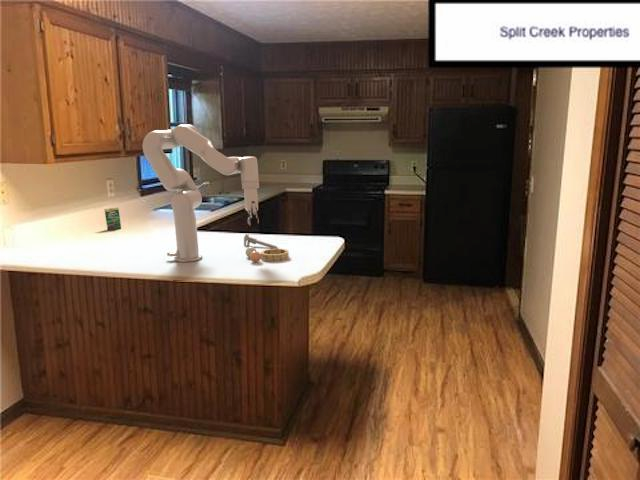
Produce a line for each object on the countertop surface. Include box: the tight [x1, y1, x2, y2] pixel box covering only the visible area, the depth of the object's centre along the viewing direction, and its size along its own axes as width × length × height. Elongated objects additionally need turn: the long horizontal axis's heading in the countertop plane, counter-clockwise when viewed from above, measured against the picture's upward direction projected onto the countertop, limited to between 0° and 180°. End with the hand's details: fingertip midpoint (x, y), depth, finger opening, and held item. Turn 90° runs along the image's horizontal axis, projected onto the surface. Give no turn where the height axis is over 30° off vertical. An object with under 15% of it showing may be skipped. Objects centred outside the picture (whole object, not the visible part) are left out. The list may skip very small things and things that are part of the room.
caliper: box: [243, 233, 280, 249], centre depth 259 cm, size 20×1×6 cm, turn 63°
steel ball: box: [247, 216, 260, 227], centre depth 229 cm, size 5×5×5 cm
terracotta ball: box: [249, 250, 262, 263], centre depth 229 cm, size 5×5×5 cm
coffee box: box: [104, 207, 122, 231], centre depth 317 cm, size 8×3×13 cm, turn 118°
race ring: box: [260, 248, 290, 263], centre depth 236 cm, size 12×12×3 cm
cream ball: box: [245, 246, 257, 258], centre depth 238 cm, size 5×5×5 cm
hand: (253, 225), depth 230 cm, fingers closed on steel ball, 4 cm apart
